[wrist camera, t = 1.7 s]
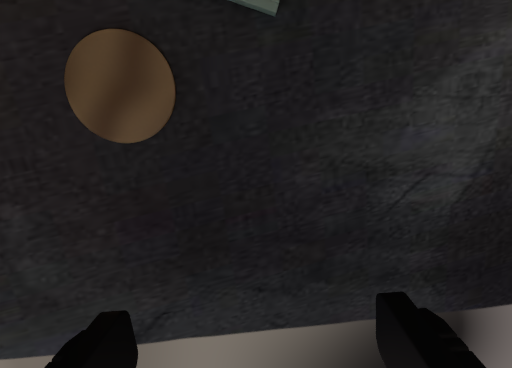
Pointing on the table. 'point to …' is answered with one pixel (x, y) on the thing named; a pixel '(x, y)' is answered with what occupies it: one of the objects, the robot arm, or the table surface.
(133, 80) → the coaster
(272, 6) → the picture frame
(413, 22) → the table surface
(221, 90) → the table surface
